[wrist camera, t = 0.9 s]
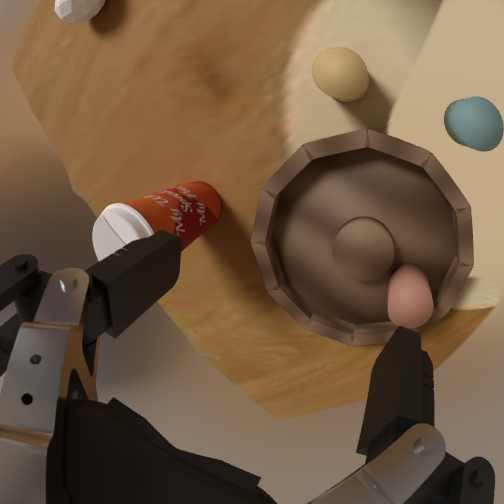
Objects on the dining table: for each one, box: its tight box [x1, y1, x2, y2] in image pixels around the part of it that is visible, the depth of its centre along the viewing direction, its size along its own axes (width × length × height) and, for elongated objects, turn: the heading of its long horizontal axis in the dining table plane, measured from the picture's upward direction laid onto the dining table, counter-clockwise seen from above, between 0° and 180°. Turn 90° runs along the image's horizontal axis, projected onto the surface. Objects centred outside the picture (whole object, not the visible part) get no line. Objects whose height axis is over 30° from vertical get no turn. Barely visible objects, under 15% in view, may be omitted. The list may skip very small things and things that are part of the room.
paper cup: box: [92, 181, 221, 261], centre depth 30 cm, size 8×8×14 cm
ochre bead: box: [312, 47, 369, 102], centre depth 22 cm, size 4×4×5 cm
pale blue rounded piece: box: [444, 97, 503, 151], centre depth 19 cm, size 4×4×5 cm
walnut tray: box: [251, 129, 474, 346], centre depth 29 cm, size 22×22×3 cm
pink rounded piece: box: [388, 263, 434, 329], centre depth 26 cm, size 4×4×5 cm
